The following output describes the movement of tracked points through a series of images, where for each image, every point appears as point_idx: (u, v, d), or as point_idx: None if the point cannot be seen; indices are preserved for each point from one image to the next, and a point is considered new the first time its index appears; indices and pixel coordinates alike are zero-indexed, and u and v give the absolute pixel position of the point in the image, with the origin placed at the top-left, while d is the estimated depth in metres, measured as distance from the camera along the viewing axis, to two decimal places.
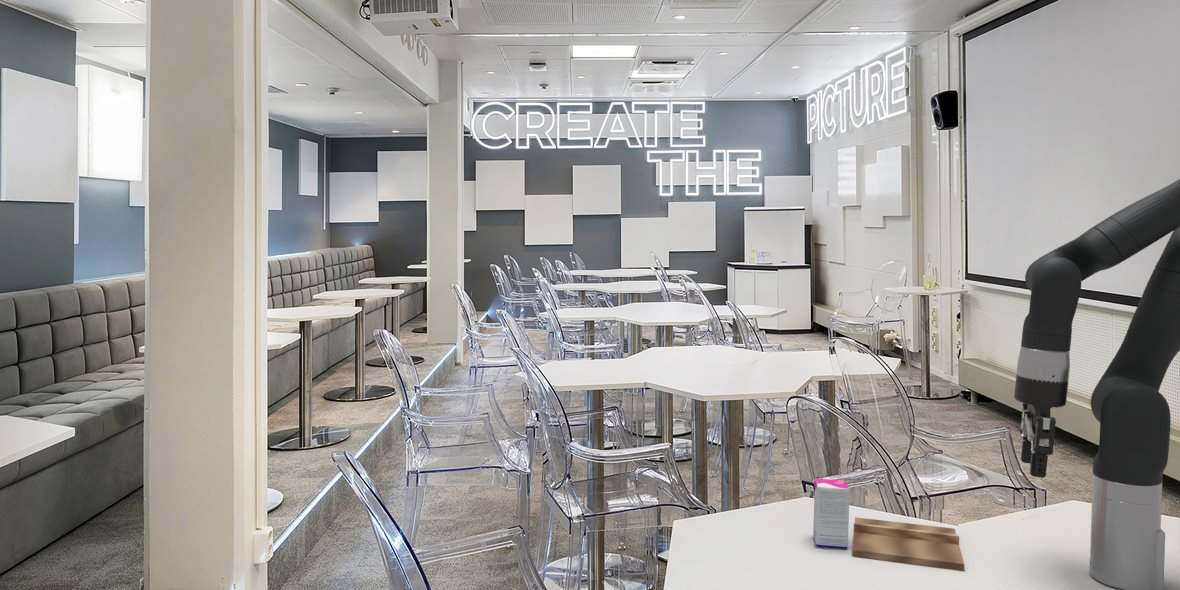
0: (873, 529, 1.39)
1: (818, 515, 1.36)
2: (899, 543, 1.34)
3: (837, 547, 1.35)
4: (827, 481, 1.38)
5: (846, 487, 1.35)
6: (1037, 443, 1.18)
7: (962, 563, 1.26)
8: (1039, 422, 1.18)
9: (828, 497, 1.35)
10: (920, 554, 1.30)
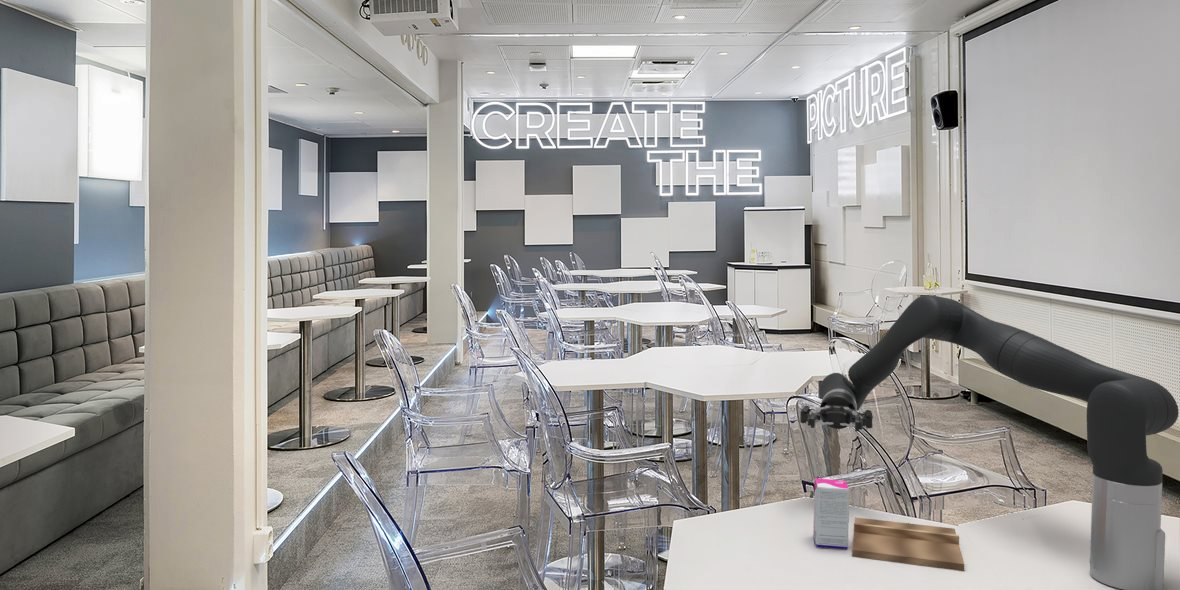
0: (873, 529, 1.39)
1: (818, 515, 1.36)
2: (899, 543, 1.34)
3: (837, 547, 1.35)
4: (827, 481, 1.39)
5: (846, 487, 1.35)
6: None
7: (962, 563, 1.26)
8: None
9: (828, 497, 1.35)
10: (920, 554, 1.30)
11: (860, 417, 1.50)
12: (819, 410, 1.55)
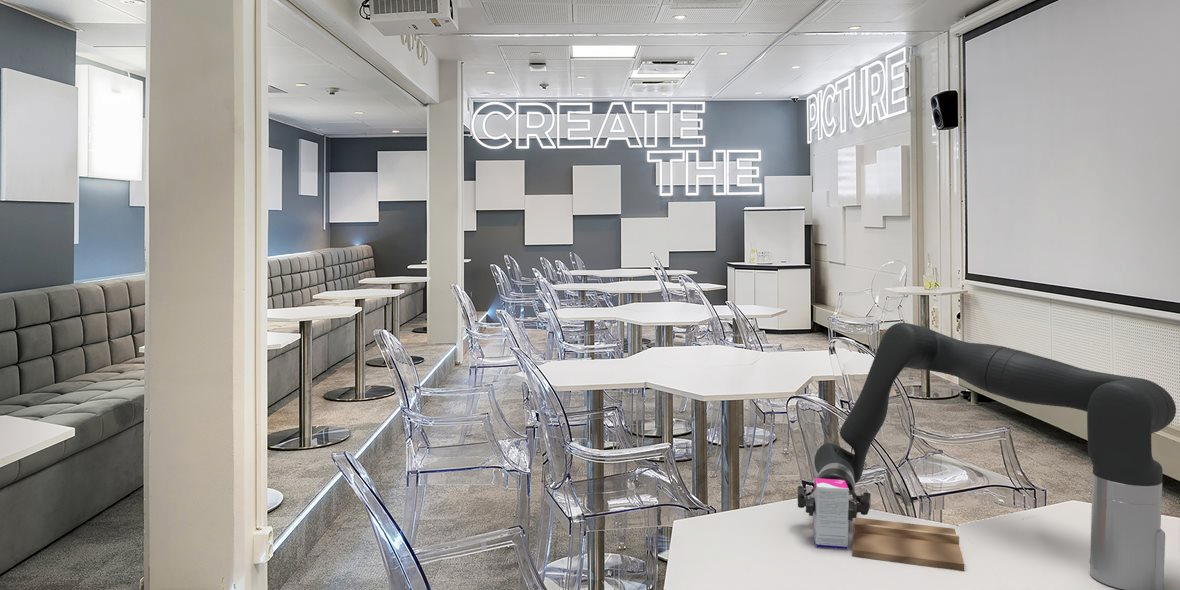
0: (873, 529, 1.39)
1: (818, 515, 1.36)
2: (899, 543, 1.34)
3: (837, 547, 1.35)
4: (827, 481, 1.38)
5: (846, 487, 1.35)
6: None
7: (962, 563, 1.26)
8: None
9: (828, 497, 1.35)
10: (920, 554, 1.30)
11: (854, 503, 1.38)
12: None
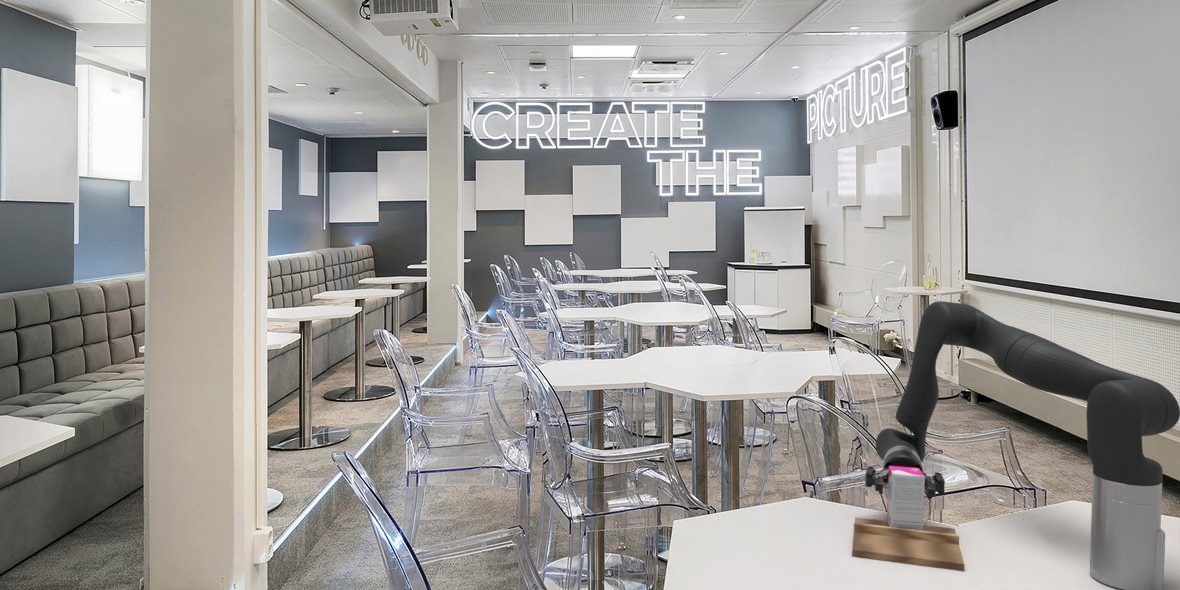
0: (873, 529, 1.39)
1: (893, 501, 1.39)
2: (899, 543, 1.34)
3: None
4: (901, 469, 1.42)
5: (921, 474, 1.38)
6: None
7: (962, 563, 1.26)
8: None
9: (903, 484, 1.38)
10: (920, 554, 1.30)
11: (931, 482, 1.41)
12: (886, 473, 1.45)
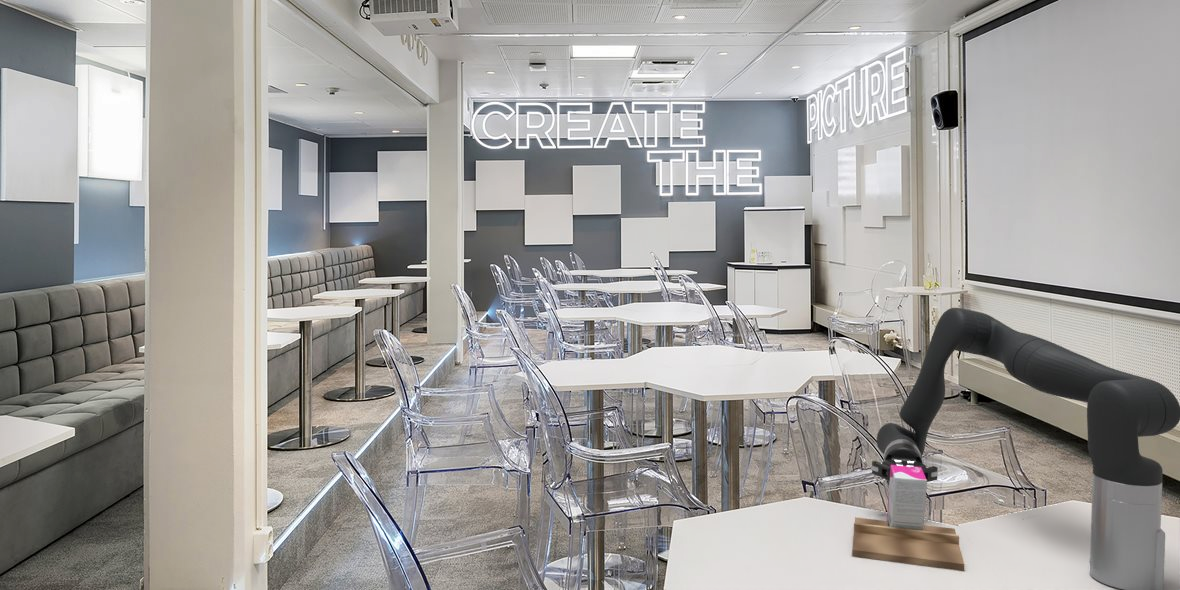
0: (873, 529, 1.39)
1: (894, 504, 1.38)
2: (899, 543, 1.34)
3: None
4: (903, 469, 1.40)
5: (923, 477, 1.36)
6: (884, 477, 1.49)
7: (962, 563, 1.26)
8: (873, 473, 1.52)
9: (905, 487, 1.37)
10: (920, 554, 1.30)
11: None
12: None
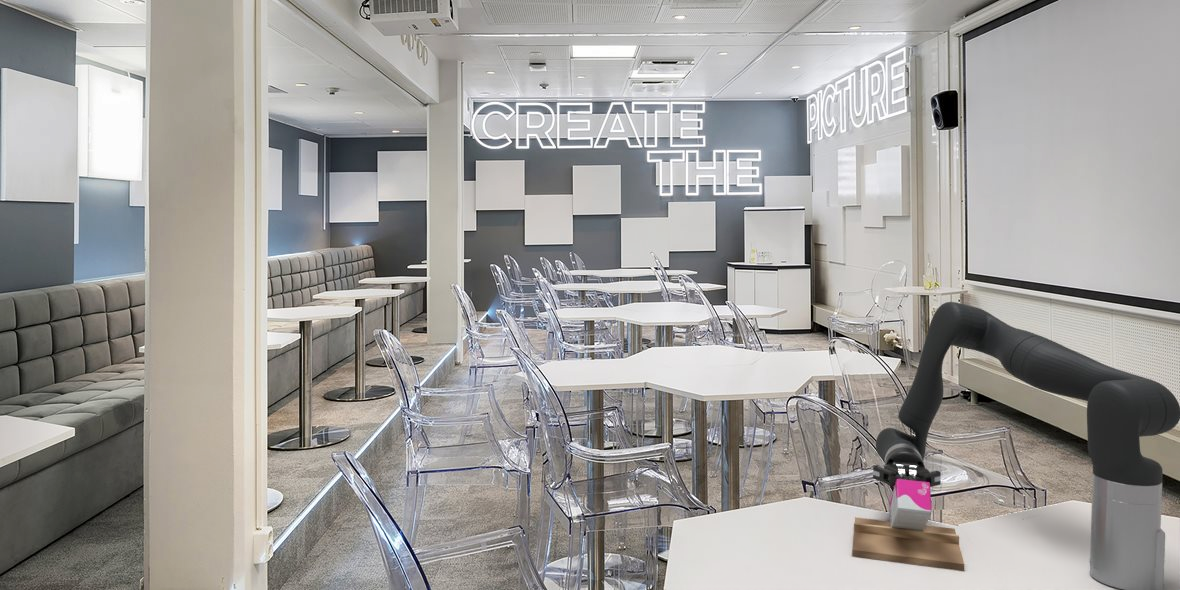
0: (873, 529, 1.39)
1: (895, 518, 1.35)
2: (899, 543, 1.34)
3: None
4: (909, 490, 1.32)
5: (928, 506, 1.30)
6: (886, 482, 1.44)
7: (962, 563, 1.26)
8: (874, 478, 1.47)
9: (907, 513, 1.32)
10: (920, 554, 1.30)
11: (913, 476, 1.41)
12: (903, 470, 1.44)
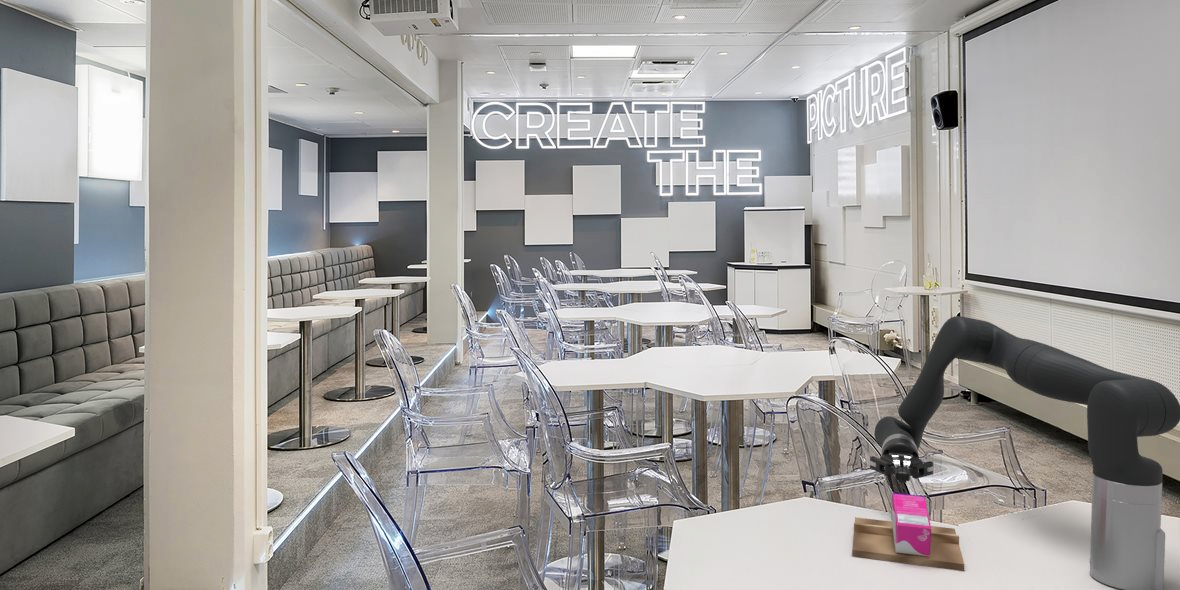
0: (873, 529, 1.39)
1: None
2: None
3: None
4: (909, 536, 1.29)
5: (927, 552, 1.28)
6: (882, 472, 1.54)
7: (962, 563, 1.26)
8: (871, 467, 1.57)
9: None
10: None
11: (906, 467, 1.50)
12: (898, 461, 1.53)
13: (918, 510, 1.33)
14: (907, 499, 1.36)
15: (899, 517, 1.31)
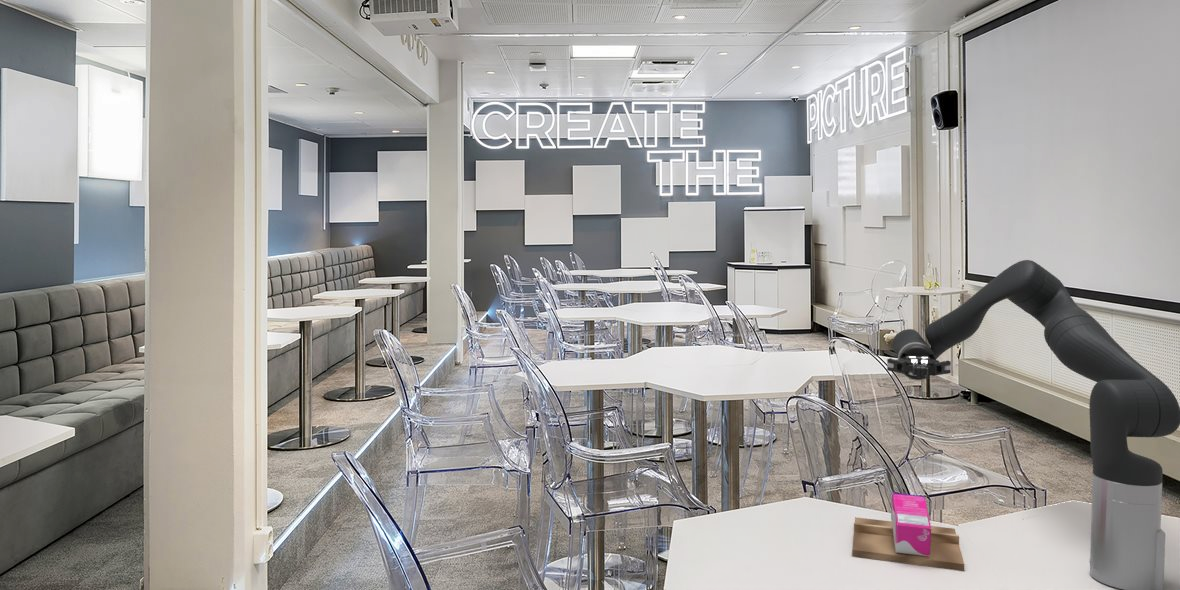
0: (873, 529, 1.39)
1: None
2: None
3: None
4: (909, 536, 1.29)
5: (927, 552, 1.28)
6: (899, 372, 1.55)
7: (962, 563, 1.26)
8: (888, 369, 1.58)
9: None
10: None
11: (924, 364, 1.51)
12: (915, 360, 1.54)
13: (917, 510, 1.33)
14: (907, 499, 1.36)
15: (899, 517, 1.31)
